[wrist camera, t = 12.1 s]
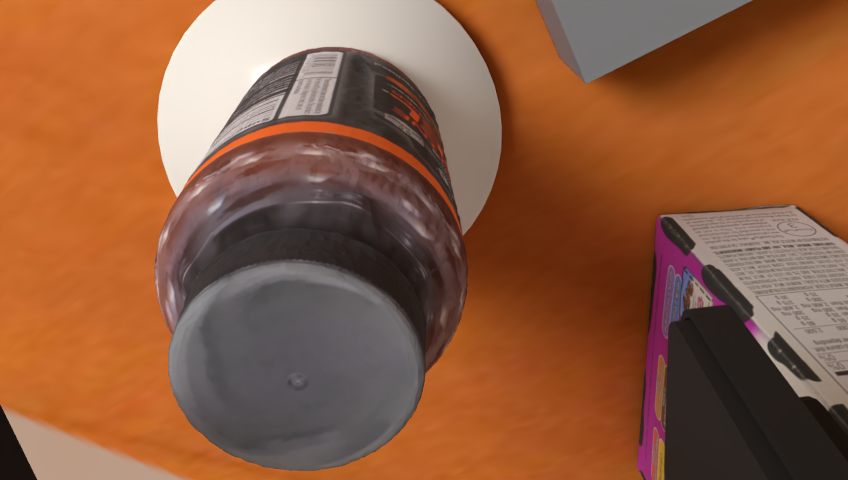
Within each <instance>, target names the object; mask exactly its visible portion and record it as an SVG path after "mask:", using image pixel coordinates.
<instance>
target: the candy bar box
mask: <svg viewBox="0 0 848 480" xmlns="http://www.w3.org/2000/svg"><path fill="white" fill-rule="evenodd" d="M718 305H730V306H731V307H732V308H733V309H734V311H735V312H736V313H737V315H738V316H739V317H740V319H741V320H742V321H743V323H744V324H745V325H746V327H747V328H748V329H749V331H750V332H751V333H752V335H753V336H754V337H755V339H756V340H757V341H758V343H759V344H760V345H761V347H762V348H763V349H764V351H765V352H766V353H767V355H768V356H769V357H770V359H771V360H772V361H773V363H774V364H775V365H776V367H777V368H778V369H779V371H780V372H781V373H782V375H783V376H784V377H785V379H786V380H787V381H788V383H789V384H790V385H791V387H792V388H793V389H794V391H795V392H796V393H797V395H798V396H799V397H805V396H810V397H813V398H815V399H817V400H818V401H819V402H820V403H821V404H822V405H823V406H824V407H825V408H826V409H827V410H828V412H829V413H830V414H831V415H832V417H833V418H834V419H835V421H836V422H837V423H838V424H839V426H840V427H841V428H842V429H843V431H844V432H845V433H846V435H847V436H848V243H846V242H845V241H843V240H842V239H841V238H839V237H838V236H836V235H835V234H834V233H832V232H831V231H830V230H829V229H827V228H826V227H824V226H823V225H822V224H820V223H819V222H818V221H816V220H815V219H814V218H812V217H811V216H810V215H808V214H807V213H806V212H804V211H803V210H801V209H800V208H799V207H797V206H795V205H774V206H758V207H752V208H746V209H739V210H729V211H707V212H689V213H679V214H667V215H660V216H658V218H657V222H656V232H655V249H654V262H653V278H652V289H651V304H650V315H649V329H648V343H647V356H646V368H645V378H644V391H643V404H642V416H641V428H640V440H639V452H638V465H637V468H638V471H639V472H640V474H641V475H642V477H643V479H644V480H665V476H664V453H665V420H666V387H667V354H668V329H669V324H670V323H671V322H672V321H681V316H682V313H683V311H684V310H685V309H691V308H700V307H709V306H718Z"/></svg>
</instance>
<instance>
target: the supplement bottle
mask: <svg viewBox="0 0 848 480" xmlns="http://www.w3.org/2000/svg"><path fill="white" fill-rule="evenodd" d="M467 273H468V266H467V258H466V252H465V246H464V241H463V234H462V227H461V222H460V216H459V215H458V211H457V205H456V202H455V198H454V193H453V189H452V186H451V178H450V175H449V171H448V166H447V159H446V156H445V153H444V146H443V142H442V139H441V135H440V132H439V126H438V123H437V121H436V117H435V114H434V112H433V111H432V109H431V107H430V106H429V104H428V102H427V100H426V98H425V97H424V96H423V94H422V93H421V91H420V90H419V89H418V87H417V86H416V85H415V84H414V83H413V81H412V80H411V79H410V78H409V77H408V76H406V75H405V74H404V73H403V72H402V71H401V70H399V69H398V68H397V67H395V66H394V65H393V64H391V63H390V62H388V61H386V60H384V59H382V58H380V57H378V56H376V55H374V54H372V53H369V52H366V51H362V50H358V49H354V48H346V47H321V48H316V49H307V50H305V51H301V52H298V53H295V54H292V55H290V56H288V57H286V58H284V59H282V60H281V61H280V62H278V63H277V64H275V65H274V66H272V67H271V68H270V69H269V70H267V71H266V72H265V73H263V74H262V75H261V76H260V77H259V78H258V79H257V81H256V82H255V83H254V84H253V85H252V87H251V88H250V89H249V90H248V92H247V93H246V94H245V96H244V97H243V98H242V100H241V102H240V103H239V105H238V106H237V108H236V109H235V111H234V112H233V114H232V115H231V117H230V118H229V120H228V121H227V123H226V124H225V126H224V128H223V129H222V130H221V132H220V133H219V135H218V136H217V138H216V139H215V140H214V142H213V143H212V145H211V147H210V148H209V150H208V152H207V153H206V155H205V156H204V158H203V159H202V161H201V162H200V163H199V165H198V166H197V168H196V169H195V171H194V172H193V174H192V175H191V176H190V177H189V179H188V181H187V183H186V184H185V185H184V188H183V190H182V191H181V193H180V194H179V196H178V197H177V199H176V201H175V203H174V205H173V206H172V208H171V210H170V212H169V214H168V217H167V220H166V222H165V224H164V226H163V229H162V231H161V234H160V237H159V243H158V248H157V253H156V259H155V284H156V290H157V296H158V301H159V305H160V309H161V312H162V314H163V317H164V320H165V323H166V325H167V327H168V329H169V331H170V333H171V334H172V339H171V343H170V346H169V369H168V374H169V378H170V382H171V387H172V391H173V394H174V396H175V398H176V400H177V402H178V405H179V407H180V408H181V410H182V411H183V413H184V414H185V416H186V417H187V419H188V421H189V422H190V423H191V425H192V426H193V427H194V428H195V429H196V430H198V431H199V432H200V433H202V434H203V435H204V436H205V437H206V438H207V439H208V440H209V441H210V442H211V443H213V444H214V445H216V446H217V447H219V448H220V449H222V450H223V451H225V452H226V453H228V454H230V455H232V456H235V457H238V458H241V459H243V460H245V461H247V462H250V463H255V464H258V465H260V466H262V467H268V468H275V469H284V470H290V471H291V470H298V471H315V470H320V469H326V468H333V467H339V466H343V465H346V464H348V463H350V462H352V461H356V460H358V459H360V458H362V457H365V456H367V455H369V454H370V453H372V452H375V451H377V450H378V449H379V448H380V447H382V446H383V445H385V444H387V443H388V442H389V441H390V440H391V439H392V438H393V437H394V436H395V435H397V434H398V433H399V432H400V431H401V430H402V429H403V427H404V426H405V425H406V423H407V421H408V420H409V419H410V418H411V416H412V415H413V413H414V412H415V410H416V408H417V405H418V403H419V400H420V398H421V395H422V391H423V386H424V382H425V373H427V371H428V370H429V369H430V368H431V367H432V366H433V365H434V364H435V363H436V362H437V361H438V359H439V358H440V357H441V355H442V354H443V352H444V350H445V349H446V347H447V346H448V344H449V343H450V342H451V340H452V338H453V336H454V334H455V332H456V329H457V326H458V324H459V322H460V319H461V315H462V311H463V308H464V304H465V299H466V295H467Z"/></svg>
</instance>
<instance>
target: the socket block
mask: <svg viewBox="0 0 848 480" xmlns="http://www.w3.org/2000/svg"><path fill="white" fill-rule="evenodd" d="M535 1H536V3H537V5H538V8H539V10H540V12H541V15H542V17H543V19H544V22H545V24H546V27H547V29H548V31H549V34H550V36H551V38H552V41H553V43H554V45H555V48H556V50H557V53H558V55H559V57H560V59H561V60H562V61H563V62H564V63H565V64H566V65H567V66H568V67H569V68H570V69H571V70H572V71H573V72H574V73H575V74H576V75H578V76H579V77H580V78H581V79H582V80H583V81H584V82H585V83H586V84H587V83H589V82H591V81H593V80H595V79H597V78H599V77H601V76H603V75H605V74H607V73H609V72H611V71H613V70H615V69H617V68H619V67H621V66H623V65H625V64H627V63H629V62H631V61H633V60H635V59H637V58H639V57H641V56H643V55H645V54H647V53H649V52H651V51H653V50H655V49H657V48H659V47H661V46H663V45H665V44H667V43H669V42H671V41H673V40H675V39H677V38H679V37H681V36H683V35H685V34H687V33H689V32H691V31H693V30H695V29H697V28H699V27H701V26H703V25H705V24H707V23H709V22H711V21H713V20H715V19H717V18H719V17H721V16H722V15H724V14H726V13H728V12H730V11H732V10H734V9H736V8H738V7H740V6H742V5H744V4H746V3H748V2H750V1H752V0H535Z"/></svg>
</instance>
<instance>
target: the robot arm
mask: <svg viewBox="0 0 848 480" xmlns="http://www.w3.org/2000/svg"><path fill="white" fill-rule="evenodd" d="M664 476H665V480H848V436H847V435H846V433H845V432H844V431H843V429H842V428H841V427H840V426H839V424H838V423H837V422H836V421H835V419H834V418H833V417H832V415H831V414H830V413H829V412H828V410H827V409H826V408H825V407H824V406H823V405H822V404H821V403H820V402H819V401H818V400H817V399H815V398H813V397H810V396H805V397H799V396H798V395H797V393H796V392H795V391H794V389H793V388H792V387H791V385H790V384H789V383H788V381H787V380H786V379H785V377H784V376H783V375H782V373H781V372H780V371H779V369H778V368H777V367H776V365H775V364H774V363H773V361H772V360H771V359H770V357H769V356H768V355H767V353H766V352H765V351H764V349H763V348H762V347H761V345H760V344H759V343H758V341H757V340H756V339H755V337H754V336H753V335H752V333H751V332H750V331H749V329H748V328H747V327H746V325H745V324H744V323H743V321H742V320H741V319H740V317H739V316H738V315H737V313H736V312H735V311H734V309H733V308H732V307H731V306H730V305H718V306H709V307H700V308H691V309H685V310H684V311H683V313H682V316H681V321H672V322H671V323H670V324H669V329H668V354H667V387H666V420H665V453H664ZM0 480H37V479H36V476H35V474H34V472H33V470H32V468H31V466H30V464H29V462H28V460H27V458H26V456H25V454H24V452H23V450H22V448H21V446H20V444H19V442H18V440H17V438H16V436H15V434H14V432H13V429H12V427H11V425H10V424H9V421H8V419H7V417H6V415H5V413H4V411H3V409H2V407H1V405H0Z"/></svg>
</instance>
